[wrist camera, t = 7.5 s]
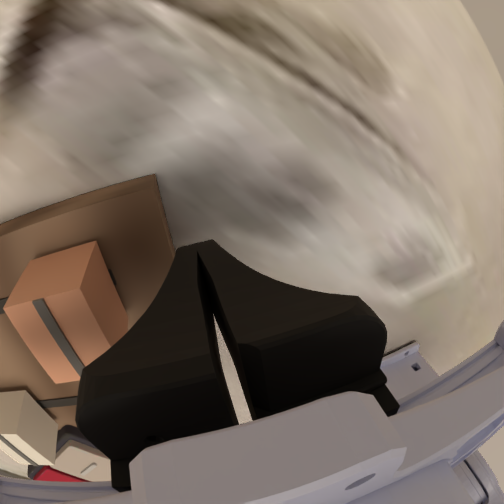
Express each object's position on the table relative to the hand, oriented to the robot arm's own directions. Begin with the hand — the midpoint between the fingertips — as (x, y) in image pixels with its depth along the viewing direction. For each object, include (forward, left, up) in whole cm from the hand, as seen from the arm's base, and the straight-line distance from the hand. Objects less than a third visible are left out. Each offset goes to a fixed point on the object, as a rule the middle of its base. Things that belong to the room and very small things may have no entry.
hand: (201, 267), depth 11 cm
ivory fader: (+13, +7, -1) cm, 15 cm away
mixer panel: (+8, +4, -3) cm, 10 cm away
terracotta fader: (+5, 0, -1) cm, 5 cm away
